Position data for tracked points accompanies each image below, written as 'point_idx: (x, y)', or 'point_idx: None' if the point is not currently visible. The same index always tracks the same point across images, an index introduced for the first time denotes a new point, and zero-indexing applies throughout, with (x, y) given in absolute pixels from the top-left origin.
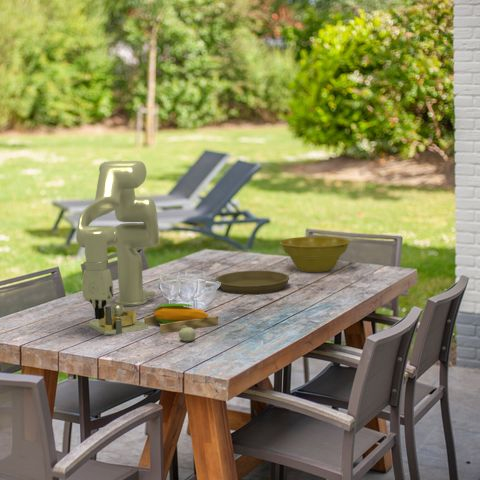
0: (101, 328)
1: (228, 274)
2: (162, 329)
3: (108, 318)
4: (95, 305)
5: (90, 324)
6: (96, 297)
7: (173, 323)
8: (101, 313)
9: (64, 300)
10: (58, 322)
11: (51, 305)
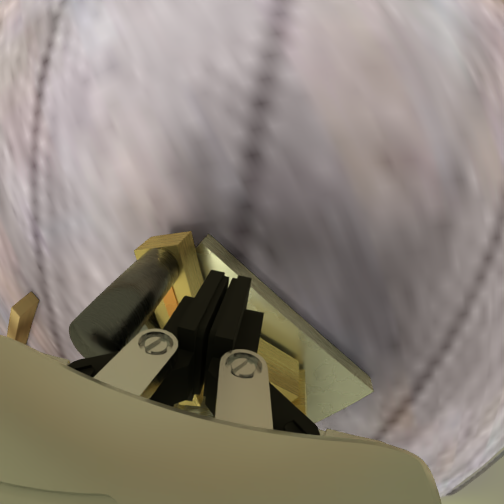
0: (253, 297)
1: None
2: (21, 300)
3: (127, 269)
4: (219, 367)
5: (357, 374)
6: (76, 407)
7: (8, 329)
8: (181, 309)
9: (446, 487)
10: (480, 385)
11: (474, 465)
